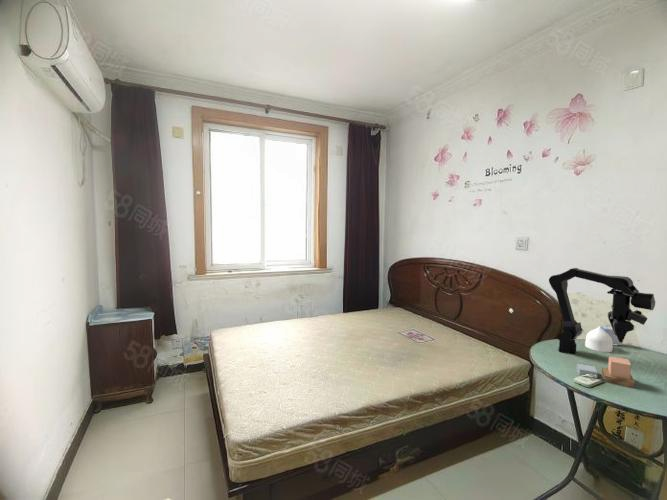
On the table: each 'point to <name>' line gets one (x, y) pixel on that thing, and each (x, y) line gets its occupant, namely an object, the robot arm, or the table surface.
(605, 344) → the teardrop
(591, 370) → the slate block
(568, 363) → the table surface
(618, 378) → the walnut block
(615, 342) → the medicine box
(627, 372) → the terracotta block
